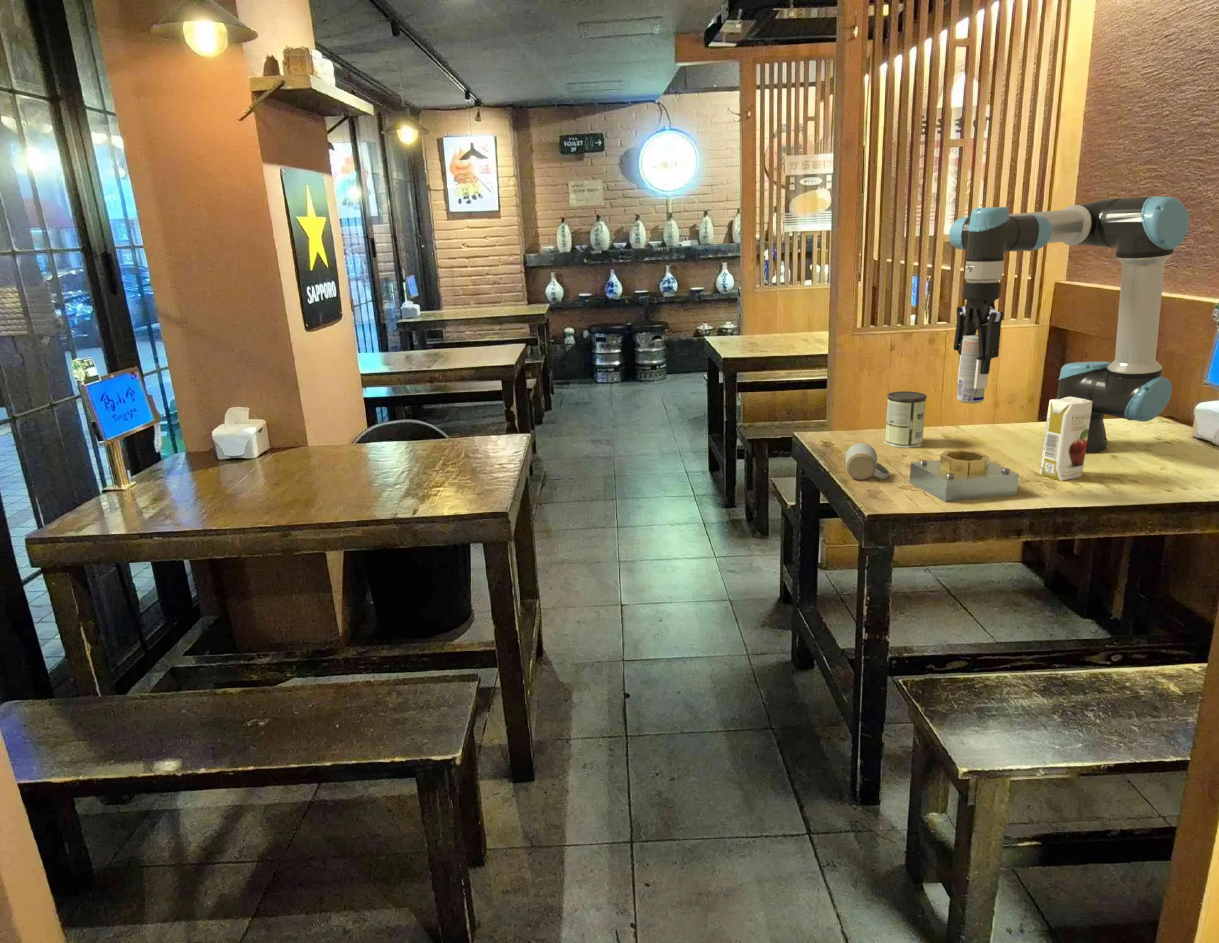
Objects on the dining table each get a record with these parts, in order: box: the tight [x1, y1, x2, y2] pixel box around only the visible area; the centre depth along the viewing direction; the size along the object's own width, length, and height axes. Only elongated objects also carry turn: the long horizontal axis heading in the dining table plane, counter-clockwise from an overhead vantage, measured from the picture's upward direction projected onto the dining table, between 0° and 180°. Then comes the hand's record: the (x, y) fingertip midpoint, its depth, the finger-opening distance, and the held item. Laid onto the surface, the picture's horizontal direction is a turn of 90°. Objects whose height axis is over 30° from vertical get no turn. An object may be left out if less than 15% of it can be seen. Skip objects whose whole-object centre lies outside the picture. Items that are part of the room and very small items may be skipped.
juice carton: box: [1039, 396, 1092, 481], centre depth 195 cm, size 8×9×19 cm
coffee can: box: [884, 390, 928, 449], centre depth 228 cm, size 10×10×14 cm
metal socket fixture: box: [909, 449, 1020, 503], centre depth 190 cm, size 18×15×8 cm
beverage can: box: [956, 334, 986, 405], centre depth 183 cm, size 6×6×15 cm
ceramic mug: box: [845, 442, 890, 481], centre depth 201 cm, size 11×8×8 cm
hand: (971, 385), depth 184 cm, fingers closed on beverage can, 5 cm apart
